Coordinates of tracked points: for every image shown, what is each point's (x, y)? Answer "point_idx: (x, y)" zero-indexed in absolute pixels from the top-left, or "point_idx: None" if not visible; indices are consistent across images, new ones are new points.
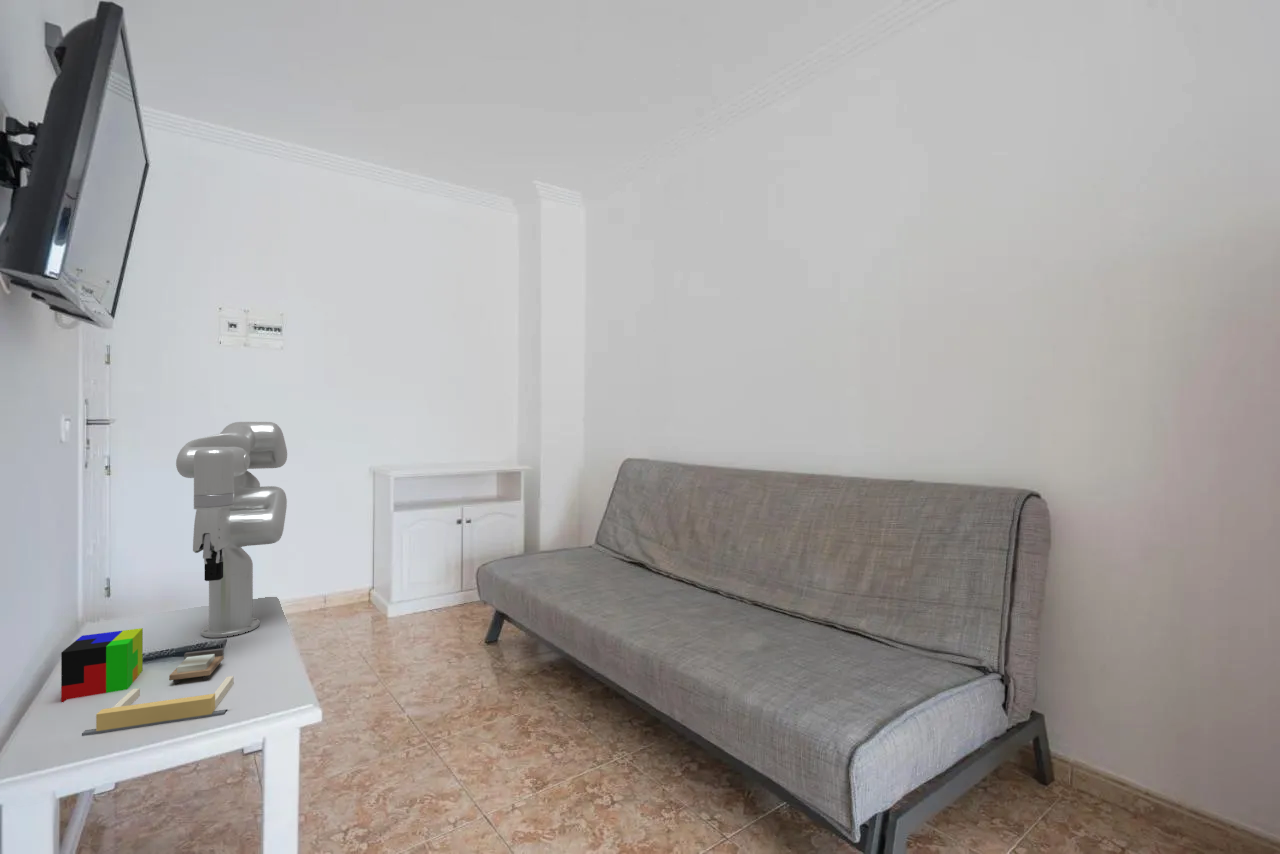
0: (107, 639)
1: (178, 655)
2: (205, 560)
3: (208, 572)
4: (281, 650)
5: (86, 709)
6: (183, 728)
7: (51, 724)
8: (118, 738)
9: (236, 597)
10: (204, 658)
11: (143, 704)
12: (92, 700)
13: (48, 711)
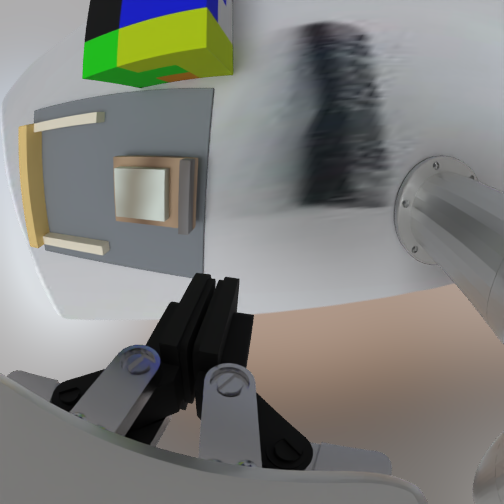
0: (137, 11)
1: (320, 119)
2: (111, 370)
3: (162, 320)
4: (246, 306)
5: None
6: None
7: (74, 50)
8: None
9: (448, 262)
10: (143, 207)
11: (25, 171)
12: None
13: None
